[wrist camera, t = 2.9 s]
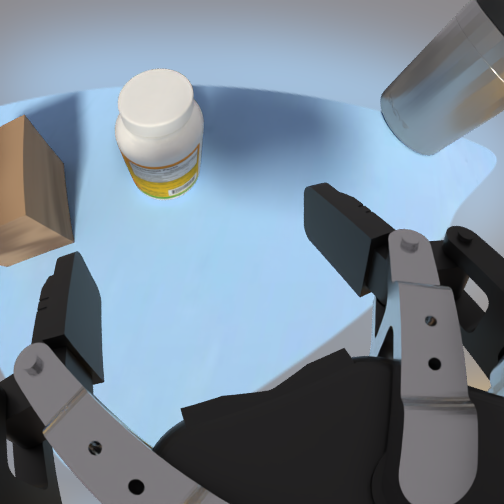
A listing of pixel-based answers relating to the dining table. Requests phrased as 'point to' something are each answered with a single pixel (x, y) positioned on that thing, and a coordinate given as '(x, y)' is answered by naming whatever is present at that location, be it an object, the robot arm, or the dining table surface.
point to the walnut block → (30, 195)
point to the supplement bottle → (160, 133)
